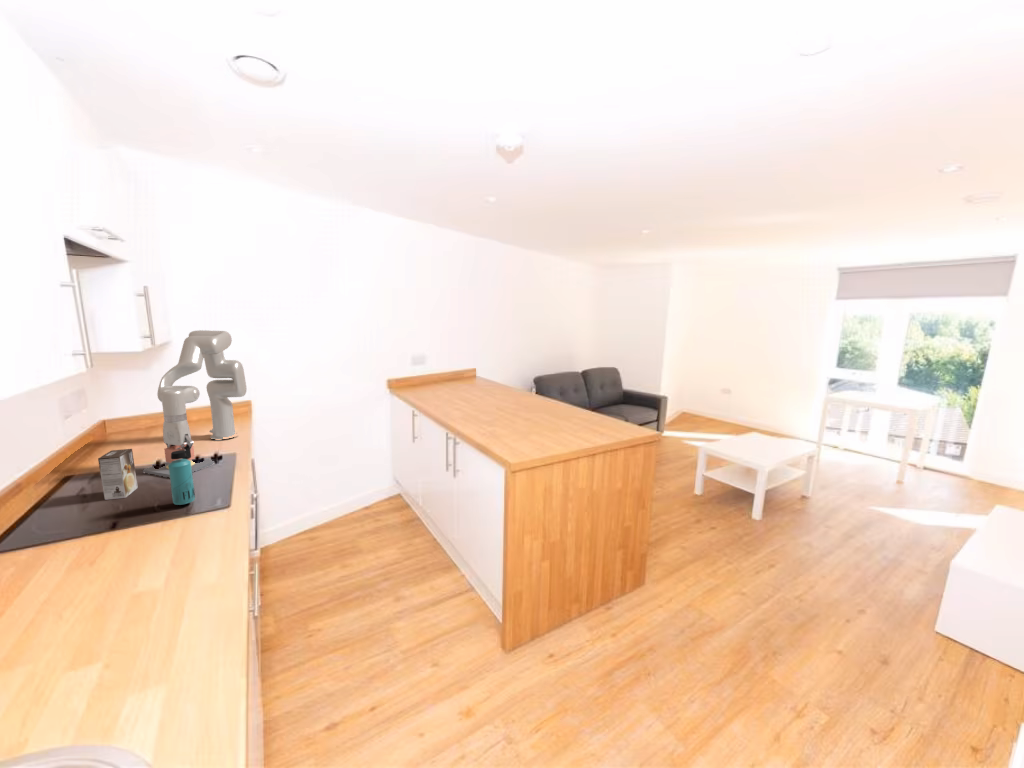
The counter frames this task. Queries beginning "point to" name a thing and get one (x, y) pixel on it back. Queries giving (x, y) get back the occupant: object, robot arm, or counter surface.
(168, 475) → the post board
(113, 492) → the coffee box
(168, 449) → the collar
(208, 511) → the counter surface
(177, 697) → the counter surface
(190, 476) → the beverage bottle
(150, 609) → the counter surface
